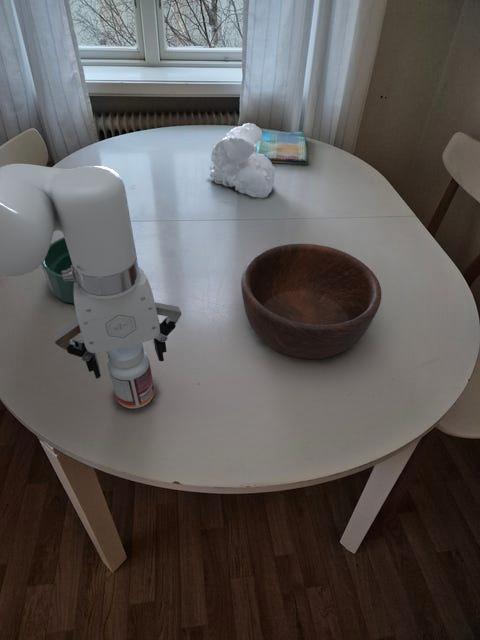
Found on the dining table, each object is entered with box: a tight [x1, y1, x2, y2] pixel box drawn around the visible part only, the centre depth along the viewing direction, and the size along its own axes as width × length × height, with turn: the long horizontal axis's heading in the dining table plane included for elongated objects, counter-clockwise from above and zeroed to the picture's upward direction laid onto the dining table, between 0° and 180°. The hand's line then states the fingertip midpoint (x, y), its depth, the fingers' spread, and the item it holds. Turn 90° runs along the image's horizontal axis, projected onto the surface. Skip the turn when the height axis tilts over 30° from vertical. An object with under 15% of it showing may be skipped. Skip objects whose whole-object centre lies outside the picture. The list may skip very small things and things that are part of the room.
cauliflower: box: [209, 122, 276, 199], centre depth 122 cm, size 19×20×20 cm
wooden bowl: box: [240, 243, 382, 360], centre depth 80 cm, size 25×25×10 cm
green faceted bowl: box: [40, 236, 74, 304], centre depth 89 cm, size 16×16×7 cm
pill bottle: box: [106, 343, 155, 409], centre depth 66 cm, size 6×6×11 cm
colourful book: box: [256, 129, 309, 166], centre depth 145 cm, size 17×23×2 cm
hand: (129, 362), depth 65 cm, fingers open, 9 cm apart
